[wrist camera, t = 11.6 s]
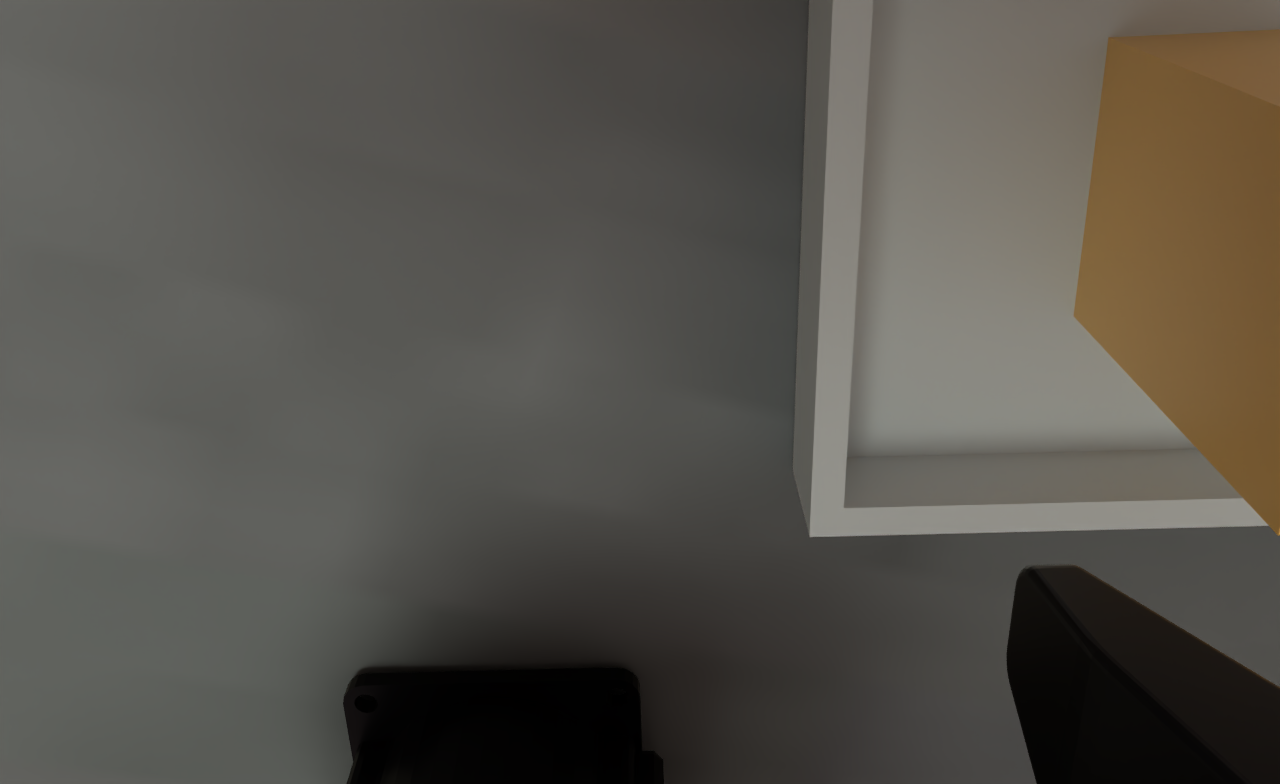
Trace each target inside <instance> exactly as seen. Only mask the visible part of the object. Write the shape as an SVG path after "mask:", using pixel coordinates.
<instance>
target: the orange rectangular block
mask: <svg viewBox="0 0 1280 784" xmlns="http://www.w3.org/2000/svg"><path fill="white" fill-rule="evenodd" d="M1074 317H1075V318H1076V319H1077V321H1078V322H1079V323H1080V324H1081V325H1082V326H1083V327H1084V328H1085V329H1086V330H1087V331H1088V332H1089V333H1090V334H1091V336H1092V337H1093V338H1094V339H1095V340H1096V341H1097V342H1098V343H1099V344H1100V345H1101V346H1102V347H1103V348H1104V349H1105V351H1106V352H1107V353H1108V354H1109V355H1110V356H1111V357H1112V358H1113V359H1114V360H1115V361H1116V362H1117V363H1118V364H1119V366H1120V367H1121V368H1122V369H1123V370H1124V371H1125V372H1126V373H1127V374H1128V375H1129V376H1130V377H1131V378H1132V380H1133V381H1134V382H1135V383H1136V384H1137V385H1138V386H1139V387H1140V388H1141V389H1142V390H1143V391H1144V392H1145V393H1146V395H1147V396H1148V397H1149V398H1150V399H1151V400H1152V401H1153V402H1154V403H1155V404H1156V405H1157V406H1158V407H1159V408H1160V410H1161V411H1162V412H1163V413H1164V414H1165V415H1166V416H1167V417H1168V418H1169V419H1170V420H1171V421H1172V422H1173V423H1174V425H1175V426H1176V427H1177V428H1178V429H1179V430H1180V431H1181V432H1182V433H1183V434H1184V435H1185V436H1186V437H1187V438H1188V440H1189V441H1190V442H1191V443H1192V444H1193V445H1194V446H1195V447H1196V448H1197V449H1198V450H1199V451H1200V452H1201V454H1202V455H1203V456H1204V457H1205V458H1206V459H1207V460H1208V461H1209V462H1210V463H1211V464H1212V465H1213V466H1214V467H1215V469H1216V470H1217V471H1218V472H1219V473H1220V474H1221V475H1222V476H1223V477H1224V478H1225V479H1226V480H1227V481H1228V482H1229V484H1230V485H1231V486H1232V487H1233V488H1234V489H1235V490H1236V491H1237V492H1238V493H1239V494H1240V495H1241V496H1242V497H1243V499H1244V500H1245V501H1246V502H1247V503H1248V504H1249V505H1250V506H1251V507H1252V508H1253V509H1254V510H1255V511H1256V512H1257V514H1258V515H1259V516H1260V517H1261V518H1262V519H1263V520H1264V521H1265V522H1266V523H1267V524H1268V525H1269V526H1270V527H1271V529H1272V530H1273V531H1274V532H1275V533H1276V534H1277V535H1280V29H1276V30H1255V31H1233V32H1212V33H1191V34H1170V35H1148V36H1127V37H1108V45H1107V53H1106V61H1105V69H1104V77H1103V85H1102V93H1101V101H1100V109H1099V117H1098V125H1097V133H1096V141H1095V149H1094V157H1093V165H1092V173H1091V181H1090V189H1089V197H1088V205H1087V212H1086V220H1085V228H1084V236H1083V244H1082V252H1081V260H1080V268H1079V276H1078V284H1077V292H1076V300H1075V308H1074Z"/></svg>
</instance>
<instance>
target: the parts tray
mask: <svg viewBox="0 0 1280 784" xmlns="http://www.w3.org/2000/svg"><path fill="white" fill-rule="evenodd" d="M1276 29H1280V0H809V18H808V47H807V75H806V104H805V132H804V160H803V189H802V217H801V246H800V274H799V303H798V331H797V360H796V388H795V417H794V445H793V474H794V478H795V482H796V486H797V490H798V494H799V498H800V501H801V505H802V509H803V513H804V517H805V521H806V525H807V529H808V533H809V537H833V536H873V535H914V534H954V533H995V532H1035V531H1076V530H1116V529H1157V528H1197V527H1238V526H1269V525H1268V524H1267V523H1266V522H1265V521H1264V520H1263V519H1262V518H1261V517H1260V516H1259V515H1258V514H1257V512H1256V511H1255V510H1254V509H1253V508H1252V507H1251V506H1250V505H1249V504H1248V503H1247V502H1246V501H1245V500H1244V499H1243V497H1242V496H1241V495H1240V494H1239V493H1238V492H1237V491H1236V490H1235V489H1234V488H1233V487H1232V486H1231V485H1230V484H1229V482H1228V481H1227V480H1226V479H1225V478H1224V477H1223V476H1222V475H1221V474H1220V473H1219V472H1218V471H1217V470H1216V469H1215V467H1214V466H1213V465H1212V464H1211V463H1210V462H1209V461H1208V460H1207V459H1206V458H1205V457H1204V456H1203V455H1202V454H1201V452H1200V451H1199V450H1198V449H1197V448H1196V447H1195V446H1194V445H1193V444H1192V443H1191V442H1190V441H1189V440H1188V438H1187V437H1186V436H1185V435H1184V434H1183V433H1182V432H1181V431H1180V430H1179V429H1178V428H1177V427H1176V426H1175V425H1174V423H1173V422H1172V421H1171V420H1170V419H1169V418H1168V417H1167V416H1166V415H1165V414H1164V413H1163V412H1162V411H1161V410H1160V408H1159V407H1158V406H1157V405H1156V404H1155V403H1154V402H1153V401H1152V400H1151V399H1150V398H1149V397H1148V396H1147V395H1146V393H1145V392H1144V391H1143V390H1142V389H1141V388H1140V387H1139V386H1138V385H1137V384H1136V383H1135V382H1134V381H1133V380H1132V378H1131V377H1130V376H1129V375H1128V374H1127V373H1126V372H1125V371H1124V370H1123V369H1122V368H1121V367H1120V366H1119V364H1118V363H1117V362H1116V361H1115V360H1114V359H1113V358H1112V357H1111V356H1110V355H1109V354H1108V353H1107V352H1106V351H1105V349H1104V348H1103V347H1102V346H1101V345H1100V344H1099V343H1098V342H1097V341H1096V340H1095V339H1094V338H1093V337H1092V336H1091V334H1090V333H1089V332H1088V331H1087V330H1086V329H1085V328H1084V327H1083V326H1082V325H1081V324H1080V323H1079V322H1078V321H1077V319H1076V318H1075V317H1074V308H1075V300H1076V292H1077V284H1078V276H1079V268H1080V260H1081V252H1082V244H1083V236H1084V228H1085V220H1086V212H1087V205H1088V197H1089V189H1090V181H1091V173H1092V165H1093V157H1094V149H1095V141H1096V133H1097V125H1098V117H1099V109H1100V101H1101V93H1102V85H1103V77H1104V69H1105V61H1106V53H1107V45H1108V37H1127V36H1148V35H1170V34H1191V33H1212V32H1233V31H1255V30H1276Z"/></svg>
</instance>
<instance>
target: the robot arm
mask: <svg viewBox="0 0 1280 784" xmlns="http://www.w3.org/2000/svg"><path fill="white" fill-rule="evenodd" d="M1007 672H1008V678H1009V683H1010V687H1011V690H1012V694H1013V698H1014V702H1015V705H1016V709H1017V713H1018V716H1019V720H1020V724H1021V727H1022V731H1023V735H1024V739H1025V742H1026V746H1027V750H1028V753H1029V757H1030V761H1031V764H1032V768H1033V772H1034V776H1035V779H1036V783H1037V784H1280V687H1278V686H1276V685H1275V684H1273V683H1271V682H1270V681H1268V680H1266V679H1265V678H1263V677H1261V676H1260V675H1258V674H1256V673H1255V672H1253V671H1252V670H1250V669H1248V668H1247V667H1245V666H1243V665H1242V664H1240V663H1238V662H1237V661H1235V660H1233V659H1232V658H1230V657H1228V656H1227V655H1225V654H1223V653H1222V652H1220V651H1218V650H1217V649H1215V648H1213V647H1212V646H1210V645H1208V644H1207V643H1205V642H1203V641H1202V640H1200V639H1198V638H1197V637H1195V636H1193V635H1192V634H1190V633H1188V632H1187V631H1185V630H1183V629H1182V628H1180V627H1178V626H1177V625H1175V624H1174V623H1172V622H1170V621H1169V620H1167V619H1165V618H1164V617H1162V616H1160V615H1159V614H1157V613H1155V612H1154V611H1152V610H1150V609H1149V608H1147V607H1145V606H1144V605H1142V604H1140V603H1139V602H1137V601H1135V600H1134V599H1132V598H1130V597H1129V596H1127V595H1125V594H1124V593H1122V592H1120V591H1119V590H1117V589H1115V588H1114V587H1112V586H1110V585H1109V584H1107V583H1105V582H1104V581H1102V580H1100V579H1099V578H1097V577H1095V576H1094V575H1092V574H1091V573H1089V572H1087V571H1086V570H1084V569H1082V568H1080V567H1078V566H1076V565H1071V564H1059V565H1030V566H1026V567H1025V568H1024V569H1023V570H1022V571H1021V572H1020V574H1019V576H1018V578H1017V581H1016V587H1015V594H1014V601H1013V609H1012V616H1011V623H1010V631H1009V638H1008V645H1007ZM616 688H617V689H623V690H624V691H625V693H624V694H620V695H615V694H611V693H610V692H609V691H610V690H612V689H616ZM364 694H365V695H371V696H372V697H374V698H375V699H376V700H372V701H370V700H365V699H364V698H362V697H361V696H360V695H364ZM343 705H344V711H345V717H346V722H347V728H348V734H349V740H350V745H351V751H352V757H353V765H352V768H351V771H350V775H349V778H348V781H347V784H664V775H663V759H662V758H661V757H660V756H659V755H658V754H657V753H656V752H655V751H642V735H641V705H640V684H639V680H638V678H637V677H636V676H635V675H634V673H633V672H631V671H629V670H627V669H623V668H581V669H540V670H498V671H456V672H414V673H372V674H362V675H358V676H356V677H355V678H353V679H352V680H351V681H350V683H349V684H348V687H347V690H346V692H345V695H344V702H343Z"/></svg>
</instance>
